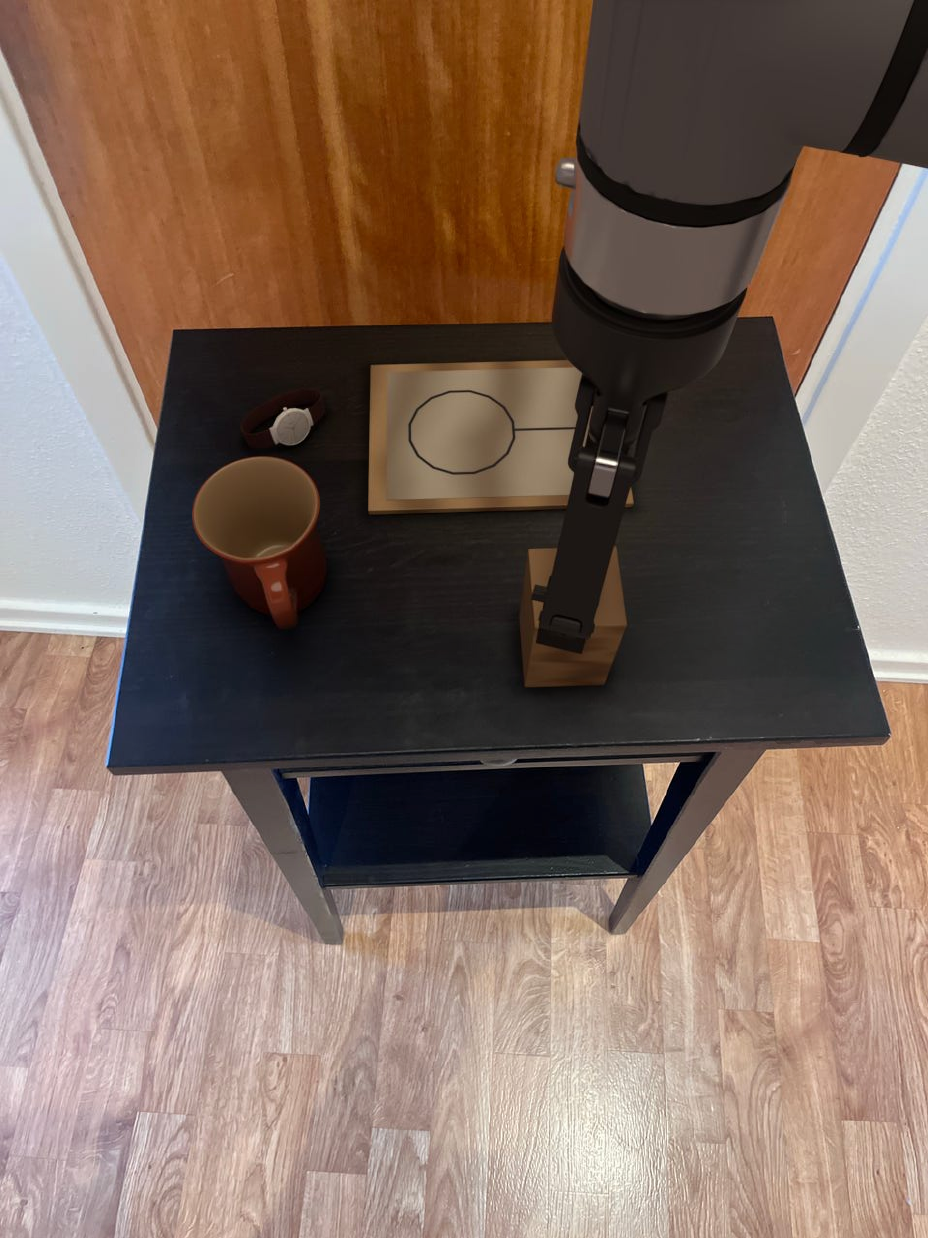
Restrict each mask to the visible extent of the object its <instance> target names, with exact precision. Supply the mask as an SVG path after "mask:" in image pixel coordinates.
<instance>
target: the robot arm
mask: <svg viewBox="0 0 928 1238" xmlns="http://www.w3.org/2000/svg"><path fill="white" fill-rule="evenodd" d="M589 22H590V23H589V30H588V39H587V47H586V57H585V65H584V73H583V82H582V89H581V97H580V98H581V99H580V107H579V116H578V122H577V128H576V129H577V130H576V135H575V136H576V137H575V146H576V147H575V152H574V157H573V158H572V157H562V158H560V159H559V161H557V165H556V167H555V170H554V172H553V173H554V182H555V183H556V184H557V186H559V187H561V188H566V189H572V190H571V192H570V196H569V198H568V202H567V203H568V204H567V210H566V218H565V225H564V233H563V246H562V248H561V251H560V254H559V259H558V265H557V272H556V273H557V274H556V281H555V289H554V295H553V303H552V311H551V327H552V328H551V329H552V332H553V336H554V339H555V342H556V344H557V347H558V348H559V349H560V351H561V353H562V355H563V356H564V357H565V359H566V360H568V361H569V362H570V363H571V364H572V365H573V366H574V367H575V368H577V369H578V370H579V371H580V372H581V373H582V376H581V380H580V384H579V388H578V392H577V397H576V401H575V410H576V412H577V415H578V416H577V422H576V426H575V431H574V435H573V440H572V444H571V448H570V453H569V457H568V466H569V468H570V469H571V470H572V471H573V472H574V476H573V481H572V485H571V490H570V495H569V499H568V504H567V508H566V509H565V513H564V517H563V522H562V526H561V531H560V535H559V540H558V543H557V547H556V548H557V552H556V557H555V561H554V565H553V570H552V574H551V576H550V577H549V581H548V584H547V587H545V586H541V585H537V584H535V586H534V589H533V592H532V597H531V600H534V601H539V602H543V603H544V604H543V609H542V611H540V614H539V618H538V621H539V629H538V634H537V639H536V643H537V644H541V645H545V646H549V647H553V648H558V649H562V650H566V651H570V652H574V653H578V654H582V651H583V648H584V645H585V642H586V640H588V639H589V638H590V637H591V633H592V634H593V632H594V629H595V623H594V618H595V614H596V611H597V608H598V605H599V601H600V596H601V592H602V589H603V585H604V581H605V578H606V574H607V570H608V567H609V563H610V559H611V556H612V552H613V548H614V547H615V544H616V540H617V537H618V533H619V531H620V530H619V529H620V527H621V522H622V518H623V515H624V511H625V508H626V507H625V505H626V501H627V498H628V495H629V491H630V488H631V489H632V485H633V484H635V483H637V482H638V481H639V480H640V478H641V475H642V472H643V468H644V465H645V461H646V457H647V452H648V449H649V445H650V442H651V438H652V434H653V432H654V431H655V430H656V429H657V428H658V427H659V426H660V424H661V422H662V418H663V415H664V411H665V408H666V407H665V406H666V404H667V400H668V396H669V395H668V394H669V392H672V391H676V390H679V389H682V388H685V387H687V386H690V385H692V384H693V383H695V382H697V381H699V380H700V379H703V377H705V376H706V375H707V374H709V373H710V371H712V370H713V369H714V367H715V366H717V364H718V363H719V361H720V360H721V358H722V356H723V354H724V353H725V350H726V348H727V346H728V343H729V340H730V339H731V335H732V333H733V329H734V327H735V325H736V322H737V319H738V317H739V314H740V312H741V309H742V306H743V304H744V301H745V299H746V296H747V292H748V288H749V286H750V285H751V284H752V281H753V279H754V278H755V275H756V272H757V270H758V268H759V266H760V263H761V262H762V261H761V260H762V258H763V255H764V253H765V250H766V248H767V246H768V242H769V240H770V237H771V236H772V233H773V230H774V227H775V225H776V222H777V220H778V217H779V215H780V212H781V209H782V206H783V205H784V202H785V199H786V196H787V194H788V191H789V189H790V187H791V183H792V178H793V175H794V169H795V167H796V164H797V161H798V159H799V157H800V155H801V153H802V151H803V149H804V147H807V148H812V149H817V150H822V151H830V152H831V151H832V152H837V153H840V154H846V155H851V156H857V157H858V158H867V157H869V158H874V159H879V160H883V161H887V162H894V163H897V164H902V165H908V166H913V167H918V168H922V169H926V170H927V169H928V0H592V4H591V13H590V21H589ZM592 406H593V408H592ZM591 408H592V412H591ZM590 413H591V417H590ZM589 417H590V421H589ZM588 421H589V429H588V434H587V438H586V443H585V447H583V442H584V438H585V434H586V430H587V425H588ZM635 441H636V444H635V449H634V451H633V455H632V456H629V455H628V453H629V450H630V447H631V446H632V445H633V444H634V443H635ZM598 446H599V450H598V452H597V449H593V448H595V447H598ZM621 451H622V452H623V453H624V454H625V455H626V456H625V455H621V456H620V452H621Z"/></svg>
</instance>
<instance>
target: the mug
mask: <svg viewBox="0 0 928 1238" xmlns="http://www.w3.org/2000/svg"><path fill="white" fill-rule="evenodd" d="M320 506H321V501H320V493H319V490H318V488H317V486H316V483H315V482H314V480H313V478H312V477H311V476H310V475H309V473H307V472H306V471H305V470H304V469H303V468H302V467H300V466H299V465H297V464H296V463H293V462H292V461H289V460H286V459H283V458H279V457H274V456H265V455H264V456H250V457H245V458H241V459H237V460H235V461H232V462H230V463H228V464H226V465H223V466H222V467H221V468H219V469H217V471H215V472H214V473H212V474H211V475H210V476H209V477H208V478H207V479H206V480H205V481H204V482H203V484H202V485H201V487H200V488H199V490H198V491H197V494H196V495H195V498H194V501H193V505H192V510H191V511H192V514H191V516H192V525H193V528H194V530H195V533H196V535H197V537H198V538H199V540H200V542H201V543H202V544H203V545H204V546H205V547H206V548H207V549H208V550H210V551H211V552H212V553H213V554H214V555H216V556H218V557H219V558H220V559H221V562H222V564H223V567H224V570H225V572H226V574H227V577H228V579H229V582H230V585H231V586H232V588H233V590H234V592H236V594H237V595H238V596H239V597H240V598H241V599H242V600H243V601H244V602H245V603H246V604H247V605H248V606H249V607H250V608H252V610H255V611H257V612H259V613H261V614H263V615H268V616H271V618H272V620H273V622H274V624H275V625H276V627H277V628H279V630H280V629H281V630H287V629H291V628H295V627H296V626H297V625H298V623H299V613H298V612H301V611H302V610H304V609H306V608H308V607H309V606H311V604H312V603H313V602H314V601H315V600H316V599H317V597H318V596H319V595H320V593H321V592H322V590H323V588H324V585H325V581H326V575H327V555H326V551H325V548H324V546H323V543H322V540H321V537H320V533H319V531H318V528H317V523H318V519H319V516H320V511H321V510H320V509H321V508H320Z"/></svg>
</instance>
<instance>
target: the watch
mask: <svg viewBox="0 0 928 1238" xmlns="http://www.w3.org/2000/svg"><path fill="white" fill-rule="evenodd" d="M323 398H324V397H323V393H322V392H321V391H320V390H319V389H316V388H311V387H309V388H308V387H303V388H298V389H293V390H290V391H287V392H283V393H281V394H279V395H278V394H277V395H275V396H274V397H271V398H269V399H268V400H266V401H265V402H264V403H262V404H260V405H258V406H257V407H256V408H253V409H252V410H251V411H250V412H249V413H247V415H245V417H244V418H243V419H242V421H241V423H240V426H239V427H240V428H239V430H240V432H241V434H242V436H243V439H244V440H245V442H246V444H247V445H248V446H249V447H251V448H254V449H262V448H265V447H270V446H272V445H278V444H279V443H280V444H283V445H285V446H295V445H298V444H300V443H301V442H302V441H304V440H305V439H306V437H307V436H308V435H309V433H310V430H311V427H312V426H314V424H315V423H316V422H318V421H319V420H320V419H321V418H322V417H323V416H324V415H325V413H326V406H325V402H324V399H323ZM307 404H313V405H312V406H309V407H308V408H307V407H306V408H304V409H301V408H296V407H298V406H302V405H307ZM276 416H277V417H276ZM273 417H276V418H275V421H274V423H273V425H272V426H271V427H269V428H268V429H266V430H262V431H259V432H256V433H253V432H254V430H255V429H256V428H257V427H259V426H260V425H262V424H263V423H265V422H266V421H268V420H270V419H272V418H273Z"/></svg>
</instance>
